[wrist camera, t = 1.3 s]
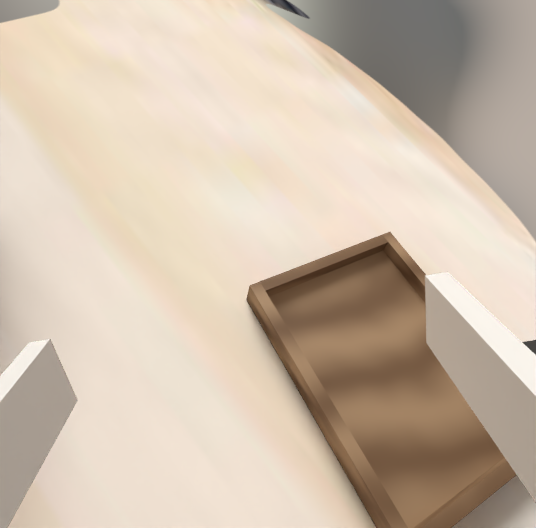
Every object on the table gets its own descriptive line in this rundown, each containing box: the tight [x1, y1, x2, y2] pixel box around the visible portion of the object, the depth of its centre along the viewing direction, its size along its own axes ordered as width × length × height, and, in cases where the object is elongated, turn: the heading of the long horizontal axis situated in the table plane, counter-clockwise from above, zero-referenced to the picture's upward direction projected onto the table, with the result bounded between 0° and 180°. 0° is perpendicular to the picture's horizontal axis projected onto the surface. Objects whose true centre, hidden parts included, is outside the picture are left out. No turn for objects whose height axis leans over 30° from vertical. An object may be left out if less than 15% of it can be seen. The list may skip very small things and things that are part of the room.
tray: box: [247, 232, 516, 528], centre depth 35 cm, size 22×16×2 cm
